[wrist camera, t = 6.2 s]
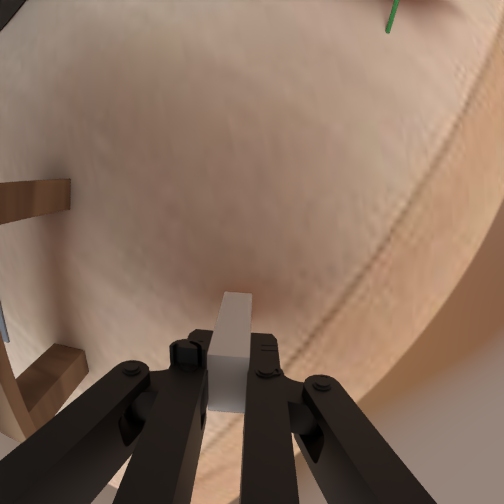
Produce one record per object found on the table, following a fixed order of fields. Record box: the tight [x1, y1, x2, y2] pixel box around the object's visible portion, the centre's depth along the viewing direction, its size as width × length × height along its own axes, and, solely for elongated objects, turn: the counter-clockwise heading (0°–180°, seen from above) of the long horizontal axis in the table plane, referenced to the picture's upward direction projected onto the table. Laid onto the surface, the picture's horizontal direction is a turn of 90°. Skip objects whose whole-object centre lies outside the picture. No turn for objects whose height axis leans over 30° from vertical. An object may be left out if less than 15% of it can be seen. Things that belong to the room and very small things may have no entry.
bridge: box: [0, 179, 89, 443], centre depth 14 cm, size 3×14×9 cm, turn 176°
